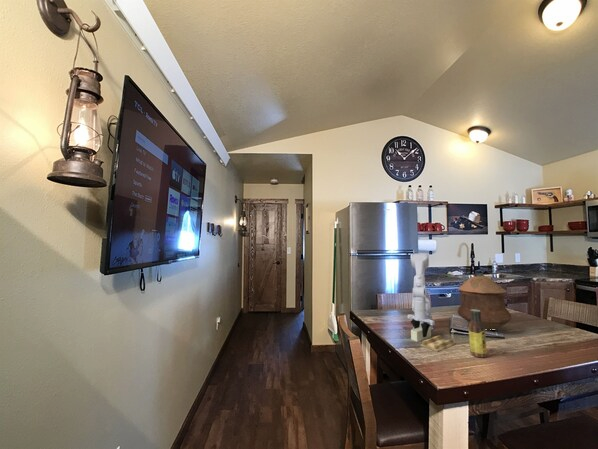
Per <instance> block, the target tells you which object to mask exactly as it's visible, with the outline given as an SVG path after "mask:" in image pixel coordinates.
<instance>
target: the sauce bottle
mask: <svg viewBox="0 0 598 449" xmlns="http://www.w3.org/2000/svg"><path fill="white" fill-rule="evenodd" d="M470 313H471V321H470V323H469V322H468V342H469V350H470V351H469V353H470V354H471V356H474V357H475V358H486V357H487V354H488V353H487V340H486V339H487V338H486V331H485V328H484V326H483V324H482V321H481V311H480V310H476V309H471V310H470Z"/></svg>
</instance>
